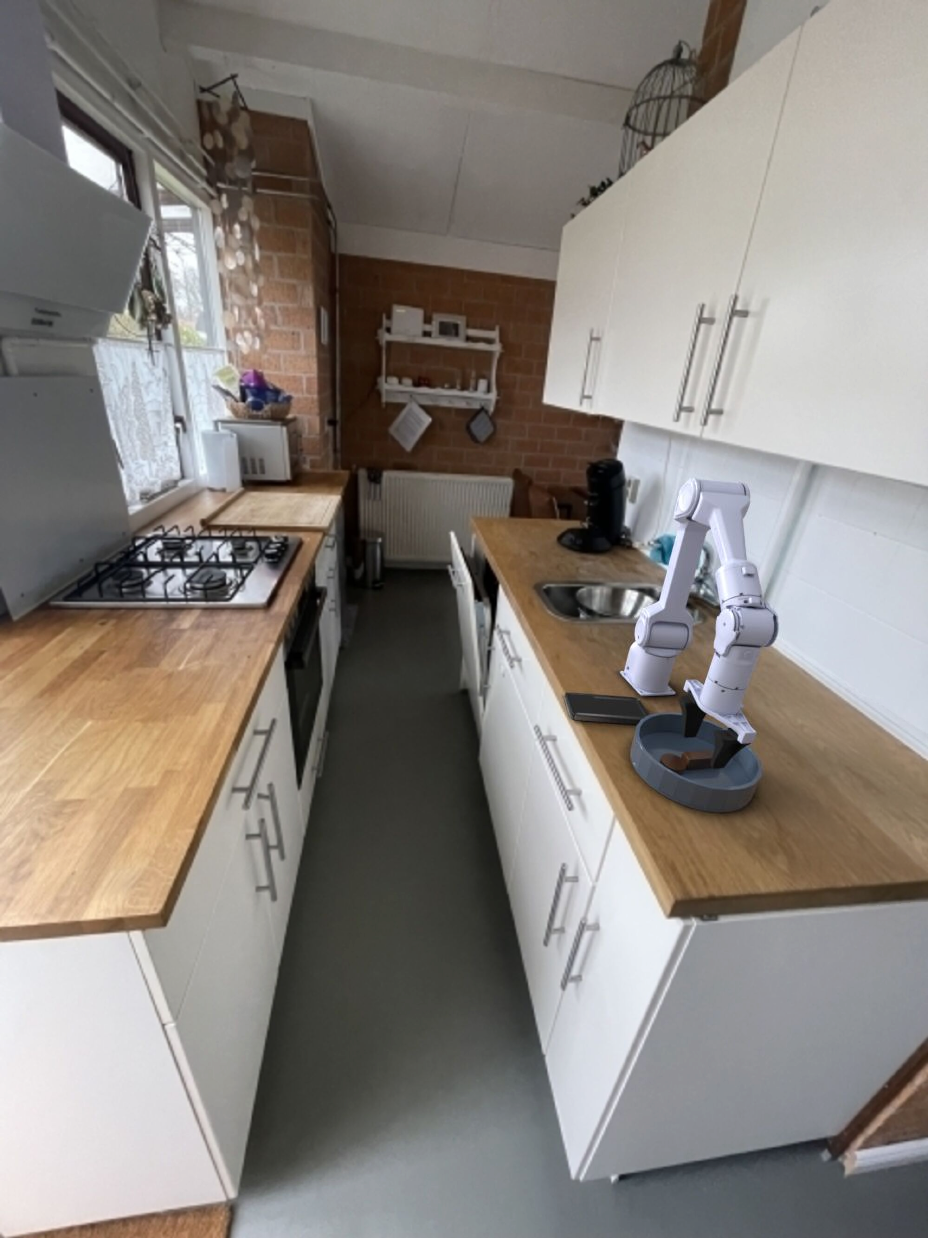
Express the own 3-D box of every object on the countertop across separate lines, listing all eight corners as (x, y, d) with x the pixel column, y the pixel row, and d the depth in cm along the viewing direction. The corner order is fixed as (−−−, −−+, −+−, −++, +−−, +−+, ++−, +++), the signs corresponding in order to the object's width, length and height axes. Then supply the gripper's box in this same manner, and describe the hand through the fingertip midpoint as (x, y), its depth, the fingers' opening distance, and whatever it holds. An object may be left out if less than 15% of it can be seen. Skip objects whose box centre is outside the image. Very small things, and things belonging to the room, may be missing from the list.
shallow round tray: (609, 735, 91) (615, 715, 89) (704, 729, 95) (711, 709, 94) (670, 818, 74) (678, 795, 72) (781, 806, 78) (791, 784, 77)
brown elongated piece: (667, 776, 82) (671, 765, 81) (654, 760, 85) (657, 749, 84) (726, 771, 84) (730, 761, 83) (710, 755, 88) (714, 745, 87)
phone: (651, 720, 94) (571, 714, 94) (650, 725, 95) (570, 719, 94) (638, 697, 102) (564, 691, 101) (637, 702, 102) (563, 696, 102)
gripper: (785, 706, 72) (754, 780, 78) (719, 656, 85) (697, 723, 91) (742, 708, 71) (714, 783, 77) (682, 657, 84) (661, 725, 89)
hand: (702, 751), depth 84 cm, fingers open, 7 cm apart
